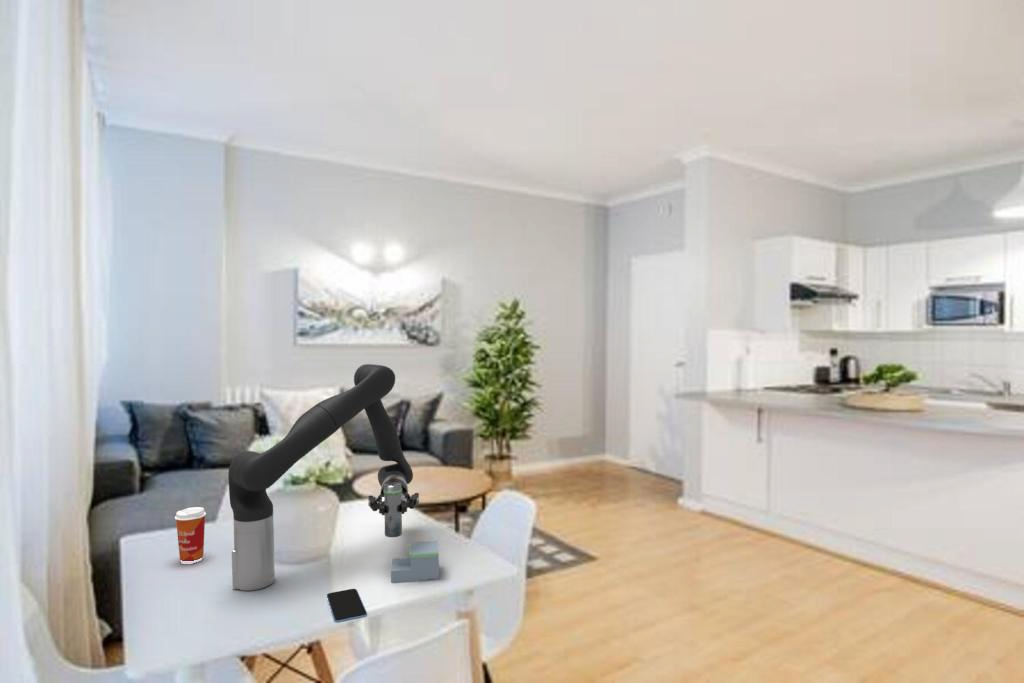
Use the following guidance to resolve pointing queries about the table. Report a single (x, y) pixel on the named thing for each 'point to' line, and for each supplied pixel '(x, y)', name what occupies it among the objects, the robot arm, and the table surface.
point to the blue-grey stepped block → (417, 563)
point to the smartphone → (346, 605)
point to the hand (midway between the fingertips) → (393, 510)
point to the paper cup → (190, 533)
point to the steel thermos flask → (393, 509)
